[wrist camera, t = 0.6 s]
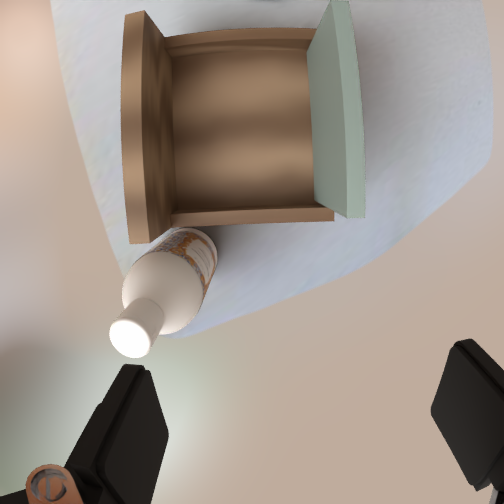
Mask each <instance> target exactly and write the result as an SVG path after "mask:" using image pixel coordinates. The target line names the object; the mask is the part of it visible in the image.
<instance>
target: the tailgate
mask: <svg viewBox="0 0 504 504" xmlns="http://www.w3.org/2000/svg"><path fill="white" fill-rule="evenodd" d="M306 54H307V66H308V78H309V92H310V107H311V124H312V145H313V172H314V200H315V201H316V202H318V203H320V204H322V205H324V206H326V207H328V208H329V209H331V210H333V211H335V212H337V213H338V214H340V215H342V216H344V217H346V218H365V151H364V129H363V113H362V100H361V89H360V78H359V69H358V60H357V52H356V45H355V38H354V31H353V24H352V18H351V12H350V7H349V1H343V0H330V2H329V5H328V7H327V9H326V11H325V13H324V15H323V17H322V20H321V22H320V24H319V26H318V28H317V31H316V33H315V35H314V37H313V39H312V41H311V44H310V46H309V48H308V50H307V53H306Z"/></svg>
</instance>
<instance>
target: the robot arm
mask: <svg viewBox="0 0 504 504" xmlns="http://www.w3.org/2000/svg"><path fill="white" fill-rule="evenodd" d="M431 415H432V417H433V419H434V421H435V423H436V424H437V426H438V428H439V430H440V431H441V433H442V435H443V437H444V438H445V440H446V442H447V444H448V446H449V447H450V449H451V451H452V453H453V455H454V456H455V458H456V460H457V462H458V464H459V466H460V468H461V470H462V471H463V473H464V475H465V477H466V479H467V481H468V483H469V484H470V485H473V486H474V488H475V490H476V491H479V490H481V489H483V488H485V487H487V486H489V485H490V483H492V484H493V486H494V487H493V491H492V495H491V499H490V503H489V504H504V370H503V369H502V368H501V367H500V366H499V365H498V364H497V363H496V362H495V361H494V360H493V359H492V358H491V357H490V356H489V355H488V354H487V353H486V352H485V351H484V350H483V349H482V348H481V347H480V346H479V345H478V344H477V343H476V342H475V341H474V340H473V339H466V340H461V341H457V342H456V343H455V344H454V346H453V347H452V348H451V349H450V352H449V355H448V359H447V362H446V365H445V368H444V372H443V375H442V378H441V381H440V384H439V387H438V389H437V392H436V395H435V398H434V401H433V403H432V406H431ZM168 437H169V433H168V428H167V425H166V422H165V419H164V416H163V413H162V409H161V407H160V403H159V400H158V396H157V393H156V390H155V386H154V383H153V379H152V376H151V373H150V371H149V370H145V368H144V366H142V365H133V364H124V365H123V366H122V368H121V370H120V371H119V373H118V375H117V376H116V378H115V380H114V382H113V383H112V385H111V387H110V389H109V390H108V392H107V394H106V396H105V398H104V399H103V401H102V403H100V404H99V405H98V406H97V407H96V409H95V411H94V412H93V414H92V416H91V418H90V419H89V421H88V423H87V425H86V427H85V429H84V430H83V432H82V434H81V436H80V438H79V439H78V441H77V443H76V445H75V447H74V449H73V451H72V453H71V455H70V456H69V459H68V460H67V462H66V464H65V466H64V467H61V466H59V465H54V464H47V465H42V466H40V467H38V468H36V469H35V470H33V471H32V472H31V474H30V475H29V476H28V478H27V481H26V489H24V490H21V491H18V492H14V493H11V494H8V495H4V496H1V497H0V504H151V501H152V497H153V493H154V489H155V485H156V482H157V478H158V475H159V471H160V467H161V464H162V460H163V456H164V453H165V449H166V446H167V442H168Z"/></svg>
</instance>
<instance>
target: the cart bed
mask: <svg viewBox="0 0 504 504" xmlns="http://www.w3.org/2000/svg"><path fill="white" fill-rule="evenodd" d="M316 31H317V29H309V28H246V29H229V30H217V31H207V32H198V33H190V34H183V35H176V36H170V37H164V36H163V34H162V33H161V32H160V30H159V29H158V28H157V26H156V25H155V24H154V22H153V21H152V20H151V18H150V17H149V16H148V14H147V13H146V12H145V10H144V11H139V12H135V13H131V14H127V15H125V22H124V34H123V49H122V69H121V144H122V165H123V181H124V194H125V206H126V216H127V225H128V234H129V242H130V244H142V243H151V242H152V241H153V240H155V239H156V238H158V237H159V236H160V235H162V234H163V233H164V232H166V231H167V230H169V229H170V228H175V227H194V226H213V225H235V224H259V223H286V222H319V221H334V211H333V210H331V209H329V208H328V207H326V206H324V205H322V204H320V203H318V202H316V201H315V200H314V172H313V145H312V124H311V107H310V92H309V78H308V66H307V54H306V53H307V50H308V48H309V46H310V44H311V41H312V39H313V37H314V35H315V33H316Z"/></svg>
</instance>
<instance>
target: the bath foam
mask: <svg viewBox="0 0 504 504" xmlns="http://www.w3.org/2000/svg"><path fill="white" fill-rule="evenodd" d="M216 265H217V250H216V247H215V245H214V243H213V242H212V240H211V239H210V238H209V237H208V236H207V235H206V234H205V233H203V232H202V231H199V230H197V229H193V228H182V229H179V230H176V231H174V232H173V233H171V234H170V235H168V236H167V237H166V238H164V239H163V240H162V241H160V242H159V243H158V244H157V245H155V246H154V247H153V248H152V249H150V250H149V251H148V252H147V253H145V254H144V255H143V256H142V257H141V258H139V259H138V260H137V261H136V262H135V263H134V264H133V265H132V267H131V268H130V270H129V271H128V273H127V275H126V278H125V280H124V284H123V289H122V300H123V305H124V309H125V310H124V311H123V312H122V313H121V314H120V316H119V317H118V318H117V319H116V320H115V321H114V322H113V324H112V325H111V328H110V339H111V342H112V344H113V345H114V347H115V348H116V349H117V350H118V351H119V352H120V353H122V354H123V355H125V356H128V357H132V358H139V357H142V356H144V355H146V354H147V353H148V352H149V351H150V349H151V347H152V345H153V344H154V342H155V340H156V338H157V336H158V335H159V334H169V333H173V332H176V331H178V330H180V329H182V328H183V327H185V326H186V325H187V324H188V323H189V322H190V321H191V320H192V319H193V318H194V317H195V316H196V314H197V313H198V311H199V309H200V307H201V305H202V302H203V299H204V297H205V294H206V292H207V289H208V287H209V284H210V281H211V279H212V276H213V274H214V271H215V268H216Z"/></svg>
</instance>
